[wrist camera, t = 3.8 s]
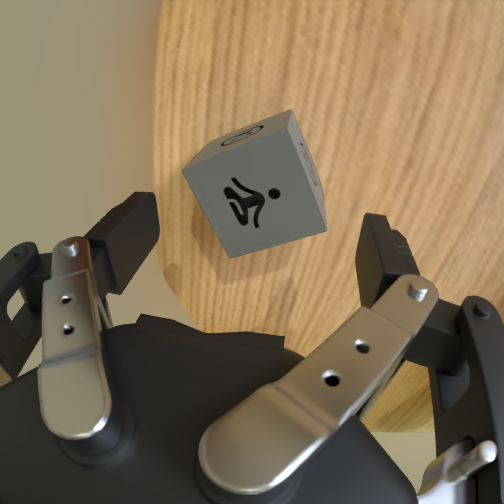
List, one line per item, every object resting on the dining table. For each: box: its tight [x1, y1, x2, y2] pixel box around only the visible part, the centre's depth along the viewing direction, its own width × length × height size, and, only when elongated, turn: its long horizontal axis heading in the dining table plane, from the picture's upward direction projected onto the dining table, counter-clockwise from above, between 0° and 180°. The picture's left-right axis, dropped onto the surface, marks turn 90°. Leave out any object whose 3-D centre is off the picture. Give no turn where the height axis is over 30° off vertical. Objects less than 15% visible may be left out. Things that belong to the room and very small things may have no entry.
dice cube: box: [182, 109, 327, 259], centre depth 16 cm, size 5×5×5 cm
